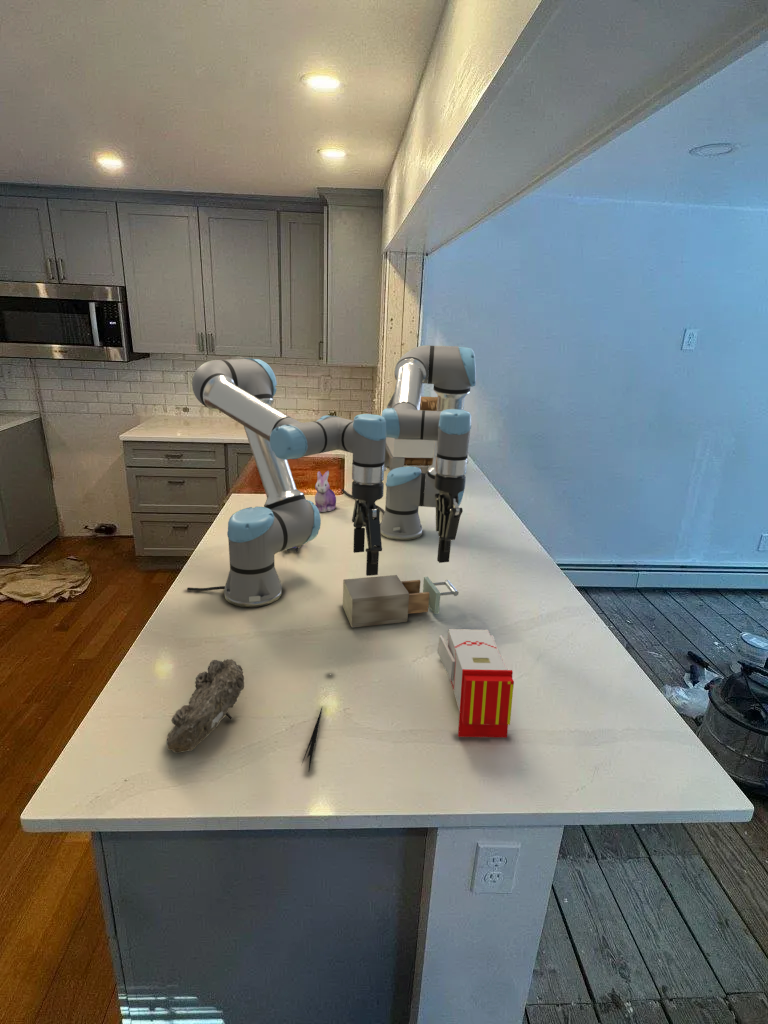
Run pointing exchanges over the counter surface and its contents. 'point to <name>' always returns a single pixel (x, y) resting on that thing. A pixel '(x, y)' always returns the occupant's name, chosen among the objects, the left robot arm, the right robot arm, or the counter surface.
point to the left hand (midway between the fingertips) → (365, 562)
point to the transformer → (410, 444)
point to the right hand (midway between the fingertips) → (443, 561)
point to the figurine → (324, 493)
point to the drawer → (426, 595)
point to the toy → (478, 682)
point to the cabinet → (375, 600)
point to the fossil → (206, 705)
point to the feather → (313, 740)
